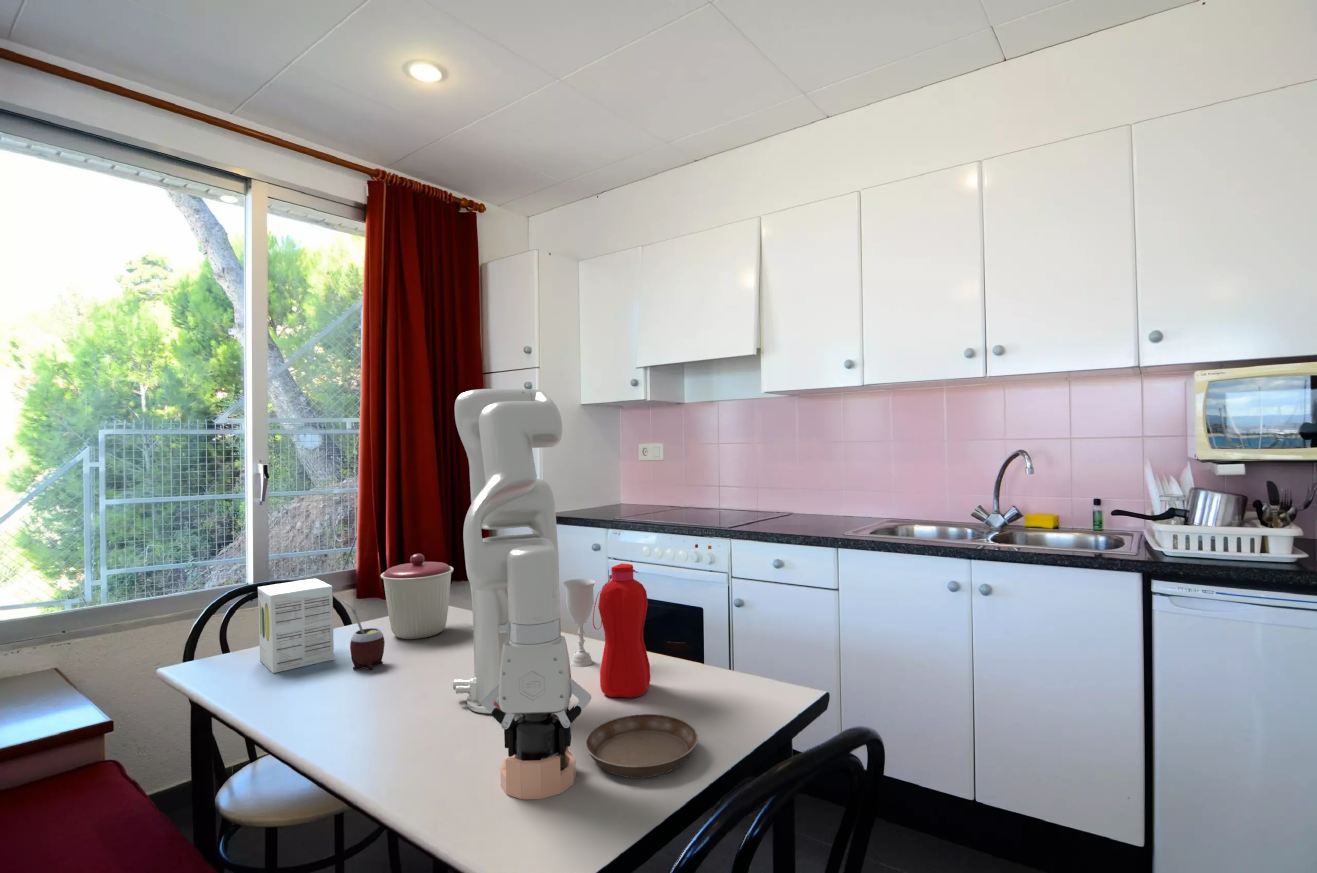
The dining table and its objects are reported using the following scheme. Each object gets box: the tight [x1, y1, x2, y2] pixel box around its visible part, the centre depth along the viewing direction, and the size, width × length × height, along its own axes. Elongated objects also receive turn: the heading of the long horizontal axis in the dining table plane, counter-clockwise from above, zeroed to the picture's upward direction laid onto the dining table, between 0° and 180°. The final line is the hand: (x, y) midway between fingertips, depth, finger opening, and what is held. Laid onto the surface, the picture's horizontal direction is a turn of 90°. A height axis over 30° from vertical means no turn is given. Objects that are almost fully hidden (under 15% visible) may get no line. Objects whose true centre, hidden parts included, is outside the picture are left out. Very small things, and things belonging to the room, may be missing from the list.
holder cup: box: [499, 747, 577, 800], centre depth 98 cm, size 11×11×5 cm
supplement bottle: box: [514, 713, 563, 772], centre depth 98 cm, size 7×7×12 cm
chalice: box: [563, 578, 596, 668], centre depth 149 cm, size 7×7×18 cm
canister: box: [380, 553, 454, 640], centre depth 176 cm, size 18×18×21 cm
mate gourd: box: [342, 599, 385, 672], centre depth 151 cm, size 8×8×15 cm
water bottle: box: [592, 562, 651, 699], centre depth 132 cm, size 9×11×25 cm
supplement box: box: [257, 577, 335, 674], centre depth 157 cm, size 13×13×18 cm
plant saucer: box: [584, 713, 699, 779], centre depth 105 cm, size 18×18×3 cm
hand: (538, 750), depth 98 cm, fingers closed on supplement bottle, 6 cm apart
